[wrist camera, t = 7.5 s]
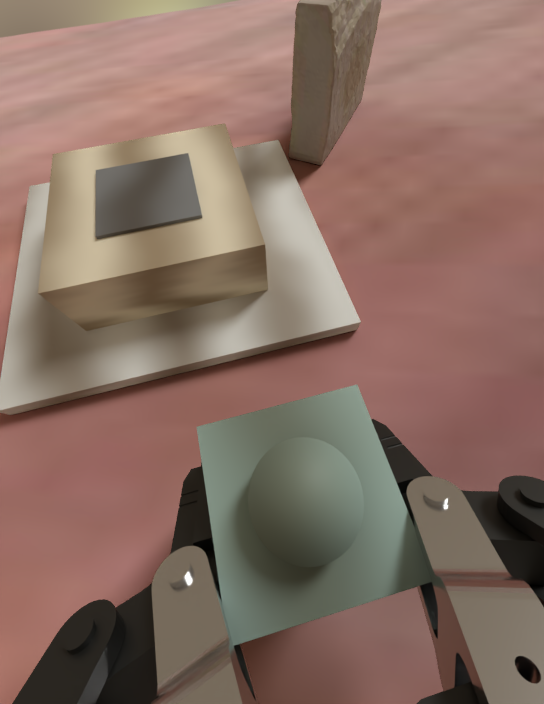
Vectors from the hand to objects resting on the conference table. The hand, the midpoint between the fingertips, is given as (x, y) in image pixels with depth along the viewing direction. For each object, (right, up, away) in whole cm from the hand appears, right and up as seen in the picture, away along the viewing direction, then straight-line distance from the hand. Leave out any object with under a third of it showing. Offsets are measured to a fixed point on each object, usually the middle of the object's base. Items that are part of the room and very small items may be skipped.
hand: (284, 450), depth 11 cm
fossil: (+5, +26, +18) cm, 32 cm away
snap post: (+1, -3, +3) cm, 4 cm away
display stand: (-8, +11, +11) cm, 18 cm away
